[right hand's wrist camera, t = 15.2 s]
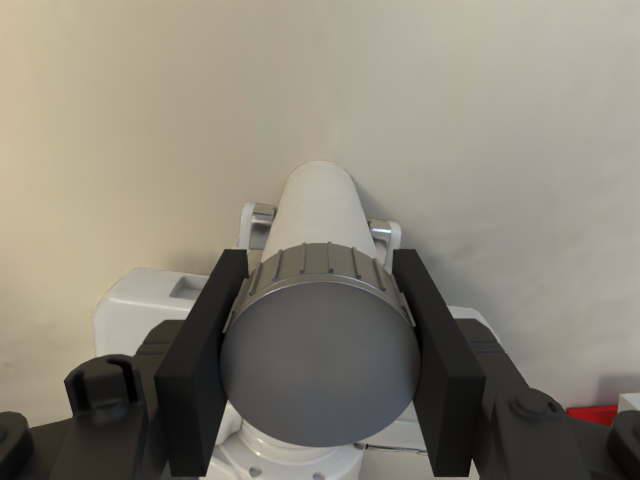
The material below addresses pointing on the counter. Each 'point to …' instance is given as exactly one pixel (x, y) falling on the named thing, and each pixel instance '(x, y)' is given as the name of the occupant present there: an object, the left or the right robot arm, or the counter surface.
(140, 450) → the right robot arm
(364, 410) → the lid
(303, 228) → the jar
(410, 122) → the counter surface
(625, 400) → the toy
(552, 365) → the counter surface
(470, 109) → the counter surface
